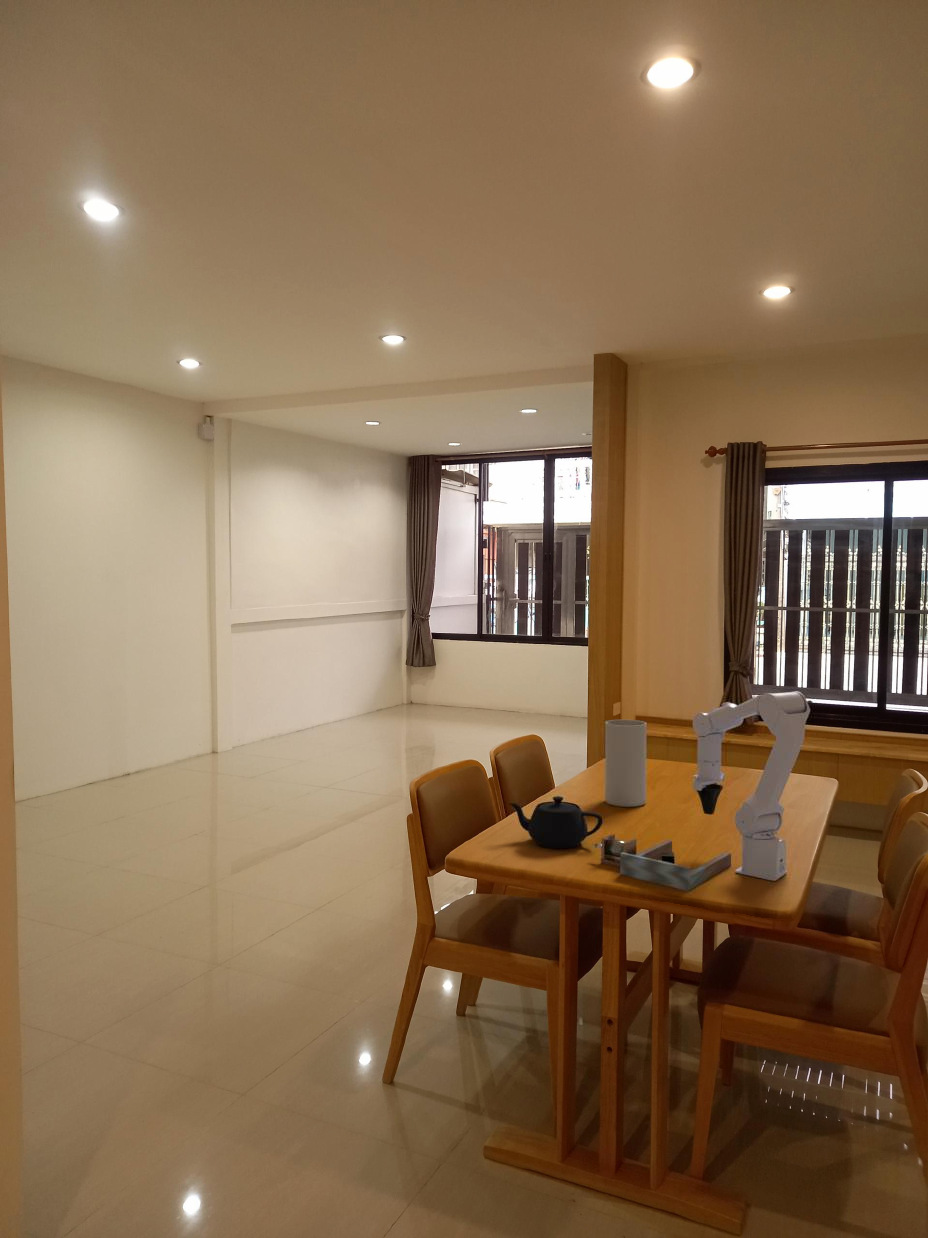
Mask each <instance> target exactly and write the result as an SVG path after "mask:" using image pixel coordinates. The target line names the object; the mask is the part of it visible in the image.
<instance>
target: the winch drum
mask: <svg viewBox="0 0 928 1238" xmlns="http://www.w3.org/2000/svg"><path fill="white" fill-rule="evenodd" d="M600 841H601V844H600V843H594V848H596V849H600V851H601V852H600V853H601V855H600V856H601V857H600V863H601V864H605V865H608V866H613V867H618V868H620V858H621V853H622V852H623V853H628V854H632V855H636V854H637V838H631V839H629V840H628V841H627V840H626V841H623V840H619V839H616V834H614V833H610V834H609V835H607V836H604V837H602V838H601V839H600Z"/></svg>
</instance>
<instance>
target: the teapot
mask: <svg viewBox="0 0 928 1238" xmlns="http://www.w3.org/2000/svg"><path fill="white" fill-rule="evenodd" d="M563 800H564V797H563V796H559V795H558V796H556V795H555V796H553V797H552V801H543V802H540V803H538V804H536V806H535V807H534V810H533V811H532V813H531V816H530V818H528V817H526V816H525V814H524V811H523V809H522V807H521V805H520V804H518V803H514V802H513V803H511V802H508V805H510V806H511V807H513V808H514V810H515V812H516V815H517V818H518V821H519V825H520V826H521V828H522V829H524V830H525V831H526V832H528V834H529V836H530V838H531V839H532V840H533V841H534V842H535V843H536V844H537V845H539V846H542V847H544V848H549V849H558V850H560V849H571V848H574V847H577V846H580V844H581V843H582V842H583V841H584V840H585V839H587V837H590V836H591V835H593V834H595V833H596V832H598V831H599V830H600V828H601V827H602V826H603V823H604V821H603V820H604V819H603V816H602V815H601V814H600V813H596V812H589V811H582V809H581V807H580V806H579V805H578V804H576V803H573V802H568V801H563ZM585 817H593V818H596V819H597V822H596V825H595V826H594V827H593V829H591V830H590V831H589V827H588V824H587V821H586V818H585Z"/></svg>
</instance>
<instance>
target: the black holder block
mask: <svg viewBox="0 0 928 1238" xmlns="http://www.w3.org/2000/svg"><path fill="white" fill-rule="evenodd" d="M660 861H664V862H668V863H673V864H676V863H675V852H674V851H672V852H666V851H661V858H660Z"/></svg>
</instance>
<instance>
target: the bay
mask: <svg viewBox="0 0 928 1238" xmlns="http://www.w3.org/2000/svg"><path fill="white" fill-rule="evenodd" d="M661 851H666V852H673V841H672V840H669V839H665V840H663V841H661V842H659V843H657V844H655V845H653V846H650V847H649V848H646V849H645V850H642V851H640V852H637V853H636V855H632V854H628V853H623V852H622V853H621V858H620V867H619V868H620V869H619V870H620V871H619V874H620V875H621V876H625V877H629V878H634V879H637V880H642V881H645V882H646V881H647V882H650V883H653V884H657V885H662V886H665V887H671V888H675V889H679V890H682V891H685V892H686V891H687V892H690V891H691V890H692V889H693V888H696V887H697V886H699V885H700V884H702V883H704V882H706V881H707V880H709V879H710V878H712V877H714V876H715V875H717V874H719V873H721V872H723V871H724V870H726V869H727V868H729V867H730V866H732V852H728V851H724V852H722V853H721V854H719V855H717V856H715V857H713V858H711V859H710V860H708V861H706V862H705V863H703V864H701V865H699V866H698V867H696V868H694V869H692V870H691V867H689V866H686V865H681V864H677V863H675V864H673V863H668V862H664V861H661Z"/></svg>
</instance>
